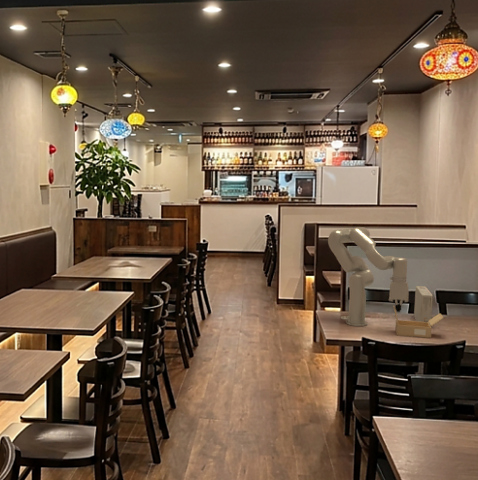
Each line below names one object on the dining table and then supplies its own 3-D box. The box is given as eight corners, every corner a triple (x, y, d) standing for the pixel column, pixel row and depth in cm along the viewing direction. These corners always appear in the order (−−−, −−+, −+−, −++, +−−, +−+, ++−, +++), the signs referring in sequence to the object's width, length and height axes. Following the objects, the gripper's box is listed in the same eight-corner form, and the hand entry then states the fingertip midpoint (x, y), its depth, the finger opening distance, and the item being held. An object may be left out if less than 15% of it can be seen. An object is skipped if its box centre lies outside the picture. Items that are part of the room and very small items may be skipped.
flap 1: (397, 323, 298) (394, 309, 298) (396, 318, 309) (393, 305, 308) (398, 323, 298) (395, 309, 298) (396, 318, 309) (394, 305, 308)
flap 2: (431, 325, 295) (443, 317, 293) (428, 320, 305) (440, 313, 303) (431, 326, 295) (443, 318, 293) (428, 321, 305) (440, 313, 303)
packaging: (430, 329, 315) (432, 295, 313) (420, 328, 316) (422, 295, 314) (423, 317, 344) (425, 286, 342) (413, 316, 345) (415, 285, 343)
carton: (397, 335, 298) (397, 325, 298) (395, 330, 310) (395, 319, 309) (430, 338, 295) (431, 327, 294) (427, 332, 307) (428, 322, 306)
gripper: (386, 280, 299) (385, 312, 300) (414, 281, 296) (412, 313, 298) (385, 277, 306) (384, 309, 308) (412, 279, 303) (410, 310, 305)
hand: (398, 311), depth 303 cm, fingers closed
